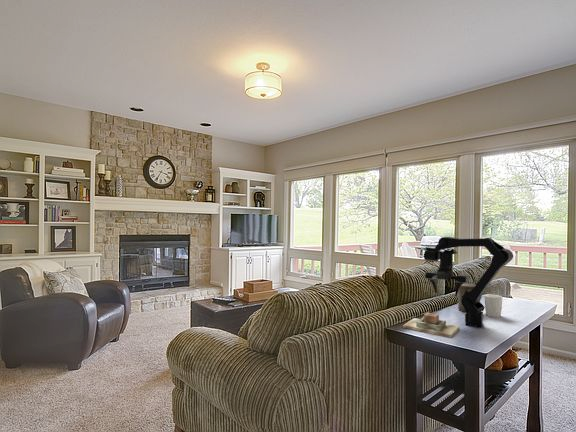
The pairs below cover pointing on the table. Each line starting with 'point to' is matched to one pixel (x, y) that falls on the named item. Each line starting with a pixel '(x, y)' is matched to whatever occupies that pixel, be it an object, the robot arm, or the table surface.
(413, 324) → the socket board
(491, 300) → the white cup
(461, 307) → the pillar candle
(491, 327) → the table surface
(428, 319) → the terracotta cube
